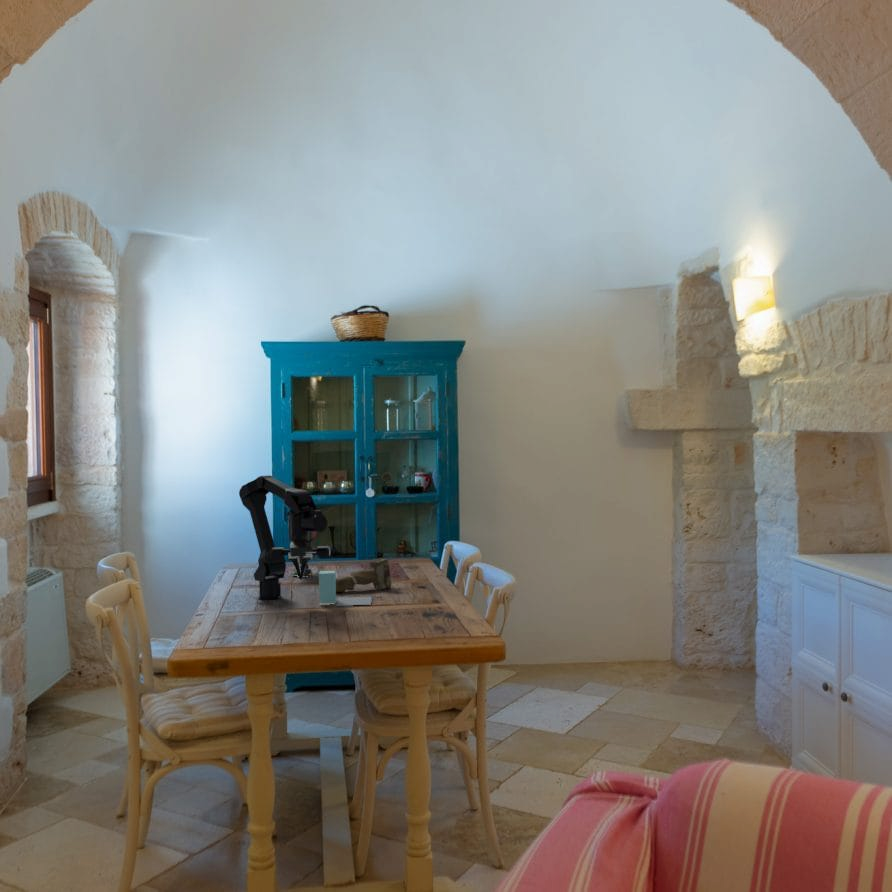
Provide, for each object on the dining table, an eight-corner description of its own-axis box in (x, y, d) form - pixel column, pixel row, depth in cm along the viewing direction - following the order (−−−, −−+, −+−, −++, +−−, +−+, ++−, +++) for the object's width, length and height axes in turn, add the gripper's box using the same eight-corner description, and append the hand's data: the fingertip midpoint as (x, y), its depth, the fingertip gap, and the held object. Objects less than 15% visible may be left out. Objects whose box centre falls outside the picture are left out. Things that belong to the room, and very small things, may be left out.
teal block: (319, 605, 266) (318, 573, 266) (320, 601, 271) (319, 571, 271) (335, 604, 266) (334, 573, 266) (336, 601, 271) (335, 570, 271)
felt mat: (336, 606, 263) (336, 605, 263) (338, 599, 275) (338, 597, 275) (371, 605, 264) (371, 604, 264) (371, 598, 276) (371, 596, 276)
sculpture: (347, 618, 291) (321, 586, 287) (393, 576, 299) (369, 544, 295) (354, 622, 284) (328, 588, 281) (402, 578, 292) (377, 545, 289)
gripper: (266, 534, 259) (267, 584, 259) (327, 532, 260) (328, 582, 260) (271, 529, 270) (272, 578, 270) (329, 528, 271) (330, 576, 272)
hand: (300, 579), depth 268 cm, fingers closed
